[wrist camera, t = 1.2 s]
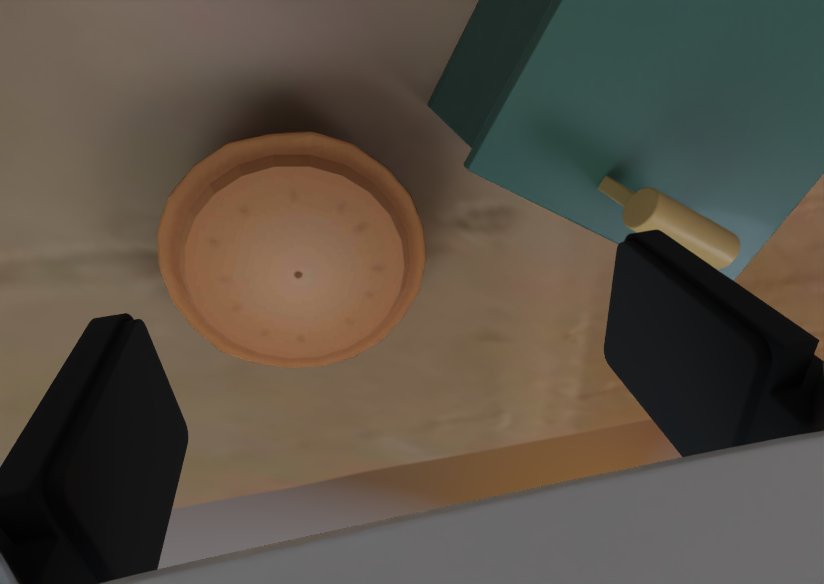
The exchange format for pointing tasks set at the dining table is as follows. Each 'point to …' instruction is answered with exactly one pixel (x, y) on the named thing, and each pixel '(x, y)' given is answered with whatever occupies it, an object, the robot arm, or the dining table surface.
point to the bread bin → (485, 63)
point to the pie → (291, 249)
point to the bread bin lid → (666, 120)
